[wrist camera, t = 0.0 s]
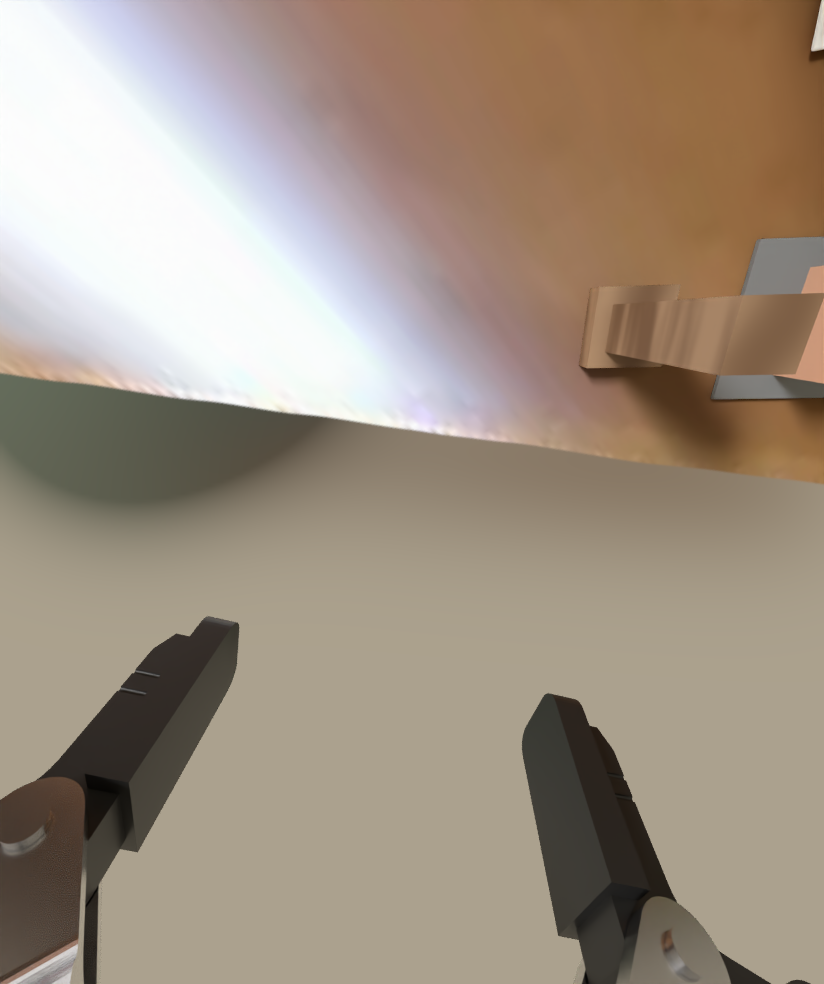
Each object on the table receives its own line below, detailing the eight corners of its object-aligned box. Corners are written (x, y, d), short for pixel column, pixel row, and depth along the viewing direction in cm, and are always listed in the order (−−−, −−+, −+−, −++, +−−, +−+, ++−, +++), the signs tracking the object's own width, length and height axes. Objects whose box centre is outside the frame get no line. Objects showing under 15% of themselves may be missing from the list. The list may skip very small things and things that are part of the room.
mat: (710, 398, 34) (713, 399, 34) (756, 239, 29) (760, 238, 29) (878, 396, 34) (883, 397, 33) (954, 232, 29) (961, 231, 28)
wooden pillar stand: (578, 365, 34) (686, 401, 19) (590, 288, 31) (722, 264, 17) (649, 364, 34) (812, 399, 19) (666, 286, 31) (868, 259, 17)
